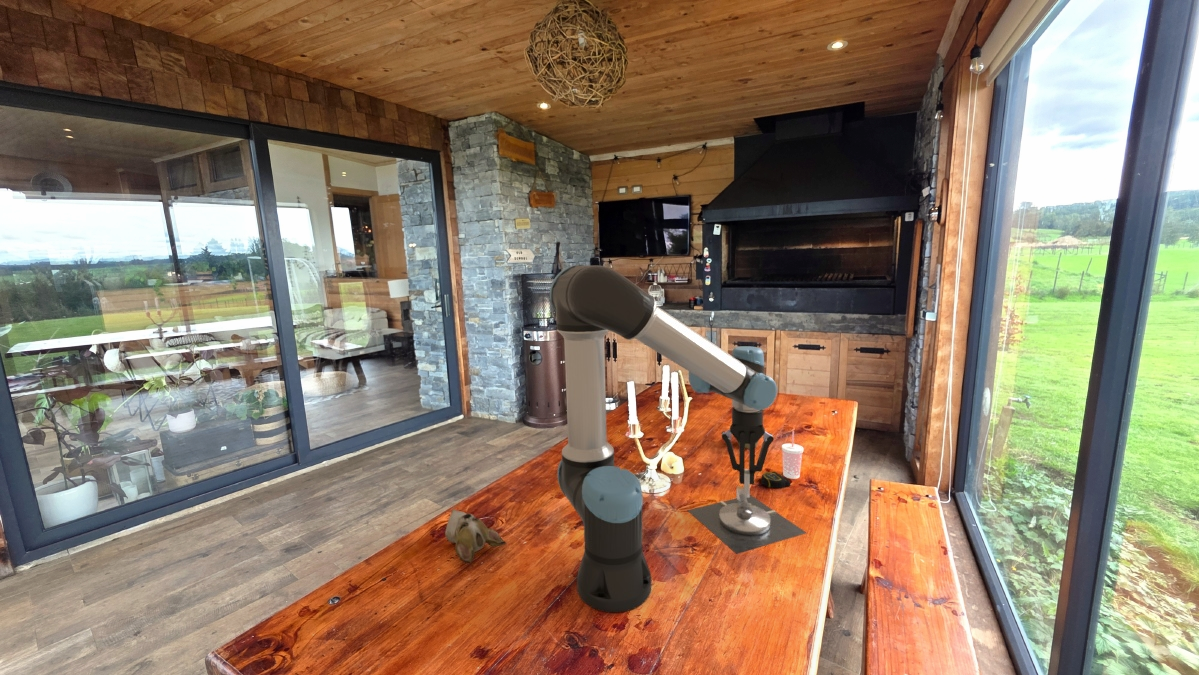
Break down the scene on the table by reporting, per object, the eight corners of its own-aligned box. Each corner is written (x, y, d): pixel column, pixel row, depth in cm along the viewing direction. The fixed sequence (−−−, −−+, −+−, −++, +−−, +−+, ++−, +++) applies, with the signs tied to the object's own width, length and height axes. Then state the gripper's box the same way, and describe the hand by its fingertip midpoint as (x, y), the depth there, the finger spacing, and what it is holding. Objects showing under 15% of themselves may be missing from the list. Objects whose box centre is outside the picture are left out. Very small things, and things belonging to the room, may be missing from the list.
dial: (774, 536, 110) (775, 518, 109) (721, 533, 112) (721, 515, 111) (762, 503, 125) (763, 487, 124) (716, 500, 127) (716, 484, 126)
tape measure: (791, 491, 134) (792, 479, 134) (771, 495, 132) (771, 483, 131) (775, 481, 141) (776, 469, 140) (755, 485, 139) (756, 473, 138)
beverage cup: (796, 481, 140) (798, 436, 137) (776, 475, 144) (778, 431, 142) (806, 475, 143) (808, 431, 141) (786, 469, 148) (788, 426, 146)
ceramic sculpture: (471, 494, 118) (507, 519, 108) (473, 525, 120) (508, 553, 110) (431, 512, 111) (466, 540, 100) (433, 545, 112) (468, 576, 102)
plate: (736, 560, 104) (736, 551, 104) (687, 515, 123) (687, 508, 122) (806, 538, 111) (807, 530, 111) (750, 499, 130) (750, 492, 129)
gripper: (772, 404, 122) (771, 490, 126) (721, 402, 125) (720, 486, 129) (776, 413, 115) (774, 504, 118) (721, 411, 118) (721, 500, 121)
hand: (746, 495), depth 123 cm, fingers closed
